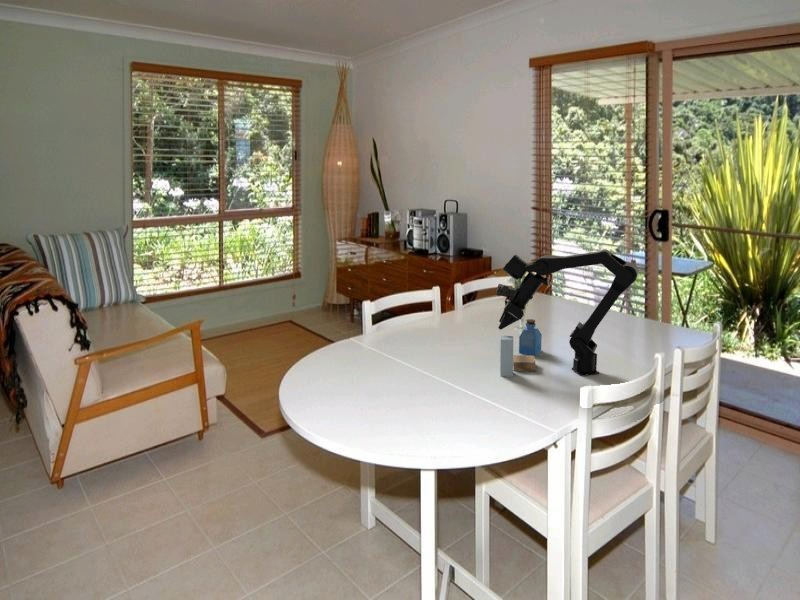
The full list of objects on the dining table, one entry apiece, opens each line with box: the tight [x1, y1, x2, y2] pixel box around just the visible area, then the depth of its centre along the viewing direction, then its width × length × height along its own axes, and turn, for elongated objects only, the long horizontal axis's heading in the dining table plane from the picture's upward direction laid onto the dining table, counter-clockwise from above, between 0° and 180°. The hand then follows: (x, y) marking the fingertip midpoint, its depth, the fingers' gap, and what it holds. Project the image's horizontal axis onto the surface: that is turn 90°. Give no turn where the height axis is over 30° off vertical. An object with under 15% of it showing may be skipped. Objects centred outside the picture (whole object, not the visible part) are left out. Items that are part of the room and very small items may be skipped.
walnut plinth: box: [513, 354, 536, 372], centre depth 189 cm, size 7×7×3 cm
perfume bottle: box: [518, 318, 543, 357], centre depth 204 cm, size 6×6×12 cm
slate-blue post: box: [499, 335, 514, 377], centre depth 183 cm, size 4×4×12 cm
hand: (499, 325), depth 190 cm, fingers open, 9 cm apart
